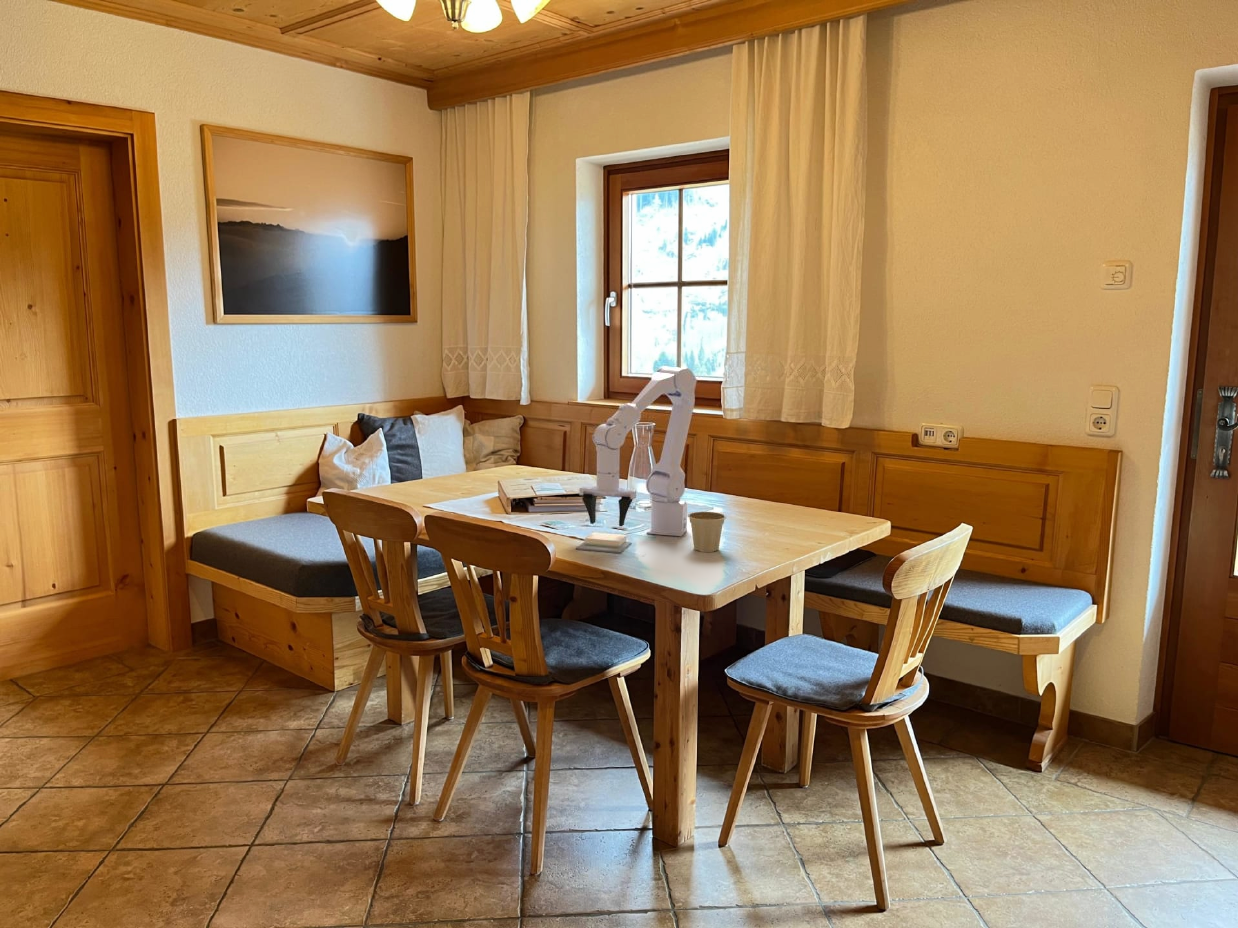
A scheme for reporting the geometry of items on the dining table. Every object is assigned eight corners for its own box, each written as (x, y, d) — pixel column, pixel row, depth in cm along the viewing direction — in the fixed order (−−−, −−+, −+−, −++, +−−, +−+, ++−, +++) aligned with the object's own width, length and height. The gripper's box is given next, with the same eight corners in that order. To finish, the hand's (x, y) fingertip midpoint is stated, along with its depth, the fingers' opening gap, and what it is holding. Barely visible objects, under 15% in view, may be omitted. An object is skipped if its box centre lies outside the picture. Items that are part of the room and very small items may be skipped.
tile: (626, 535, 237) (619, 541, 231) (626, 541, 237) (619, 547, 231) (592, 532, 239) (585, 538, 233) (592, 538, 239) (585, 544, 233)
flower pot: (698, 555, 226) (699, 521, 225) (680, 546, 235) (681, 513, 233) (731, 552, 230) (733, 518, 228) (713, 543, 238) (714, 510, 237)
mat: (631, 543, 236) (631, 542, 236) (620, 553, 227) (620, 551, 227) (588, 540, 239) (588, 538, 239) (576, 549, 230) (576, 547, 230)
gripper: (575, 472, 233) (575, 525, 235) (631, 476, 229) (630, 529, 231) (584, 468, 240) (583, 519, 242) (638, 471, 236) (637, 523, 238)
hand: (607, 524), depth 237 cm, fingers open, 7 cm apart
